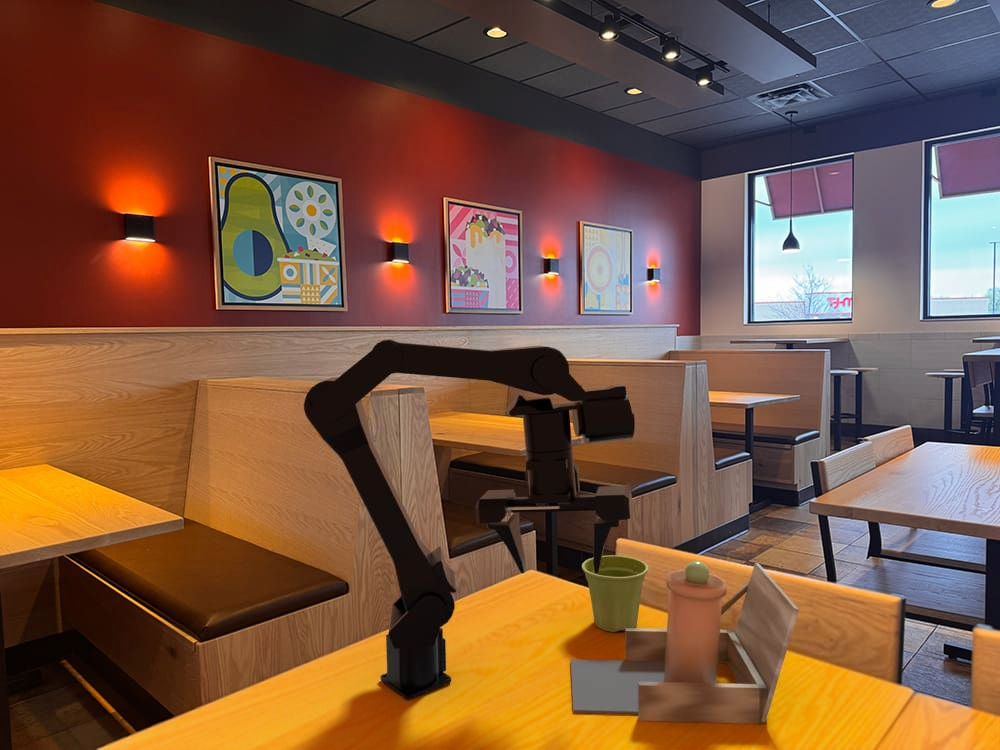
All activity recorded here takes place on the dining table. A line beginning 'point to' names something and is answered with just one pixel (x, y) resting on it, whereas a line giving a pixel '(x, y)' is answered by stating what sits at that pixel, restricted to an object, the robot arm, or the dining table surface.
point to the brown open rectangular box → (746, 651)
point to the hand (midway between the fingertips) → (559, 572)
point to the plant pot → (615, 591)
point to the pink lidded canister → (693, 624)
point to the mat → (611, 684)
